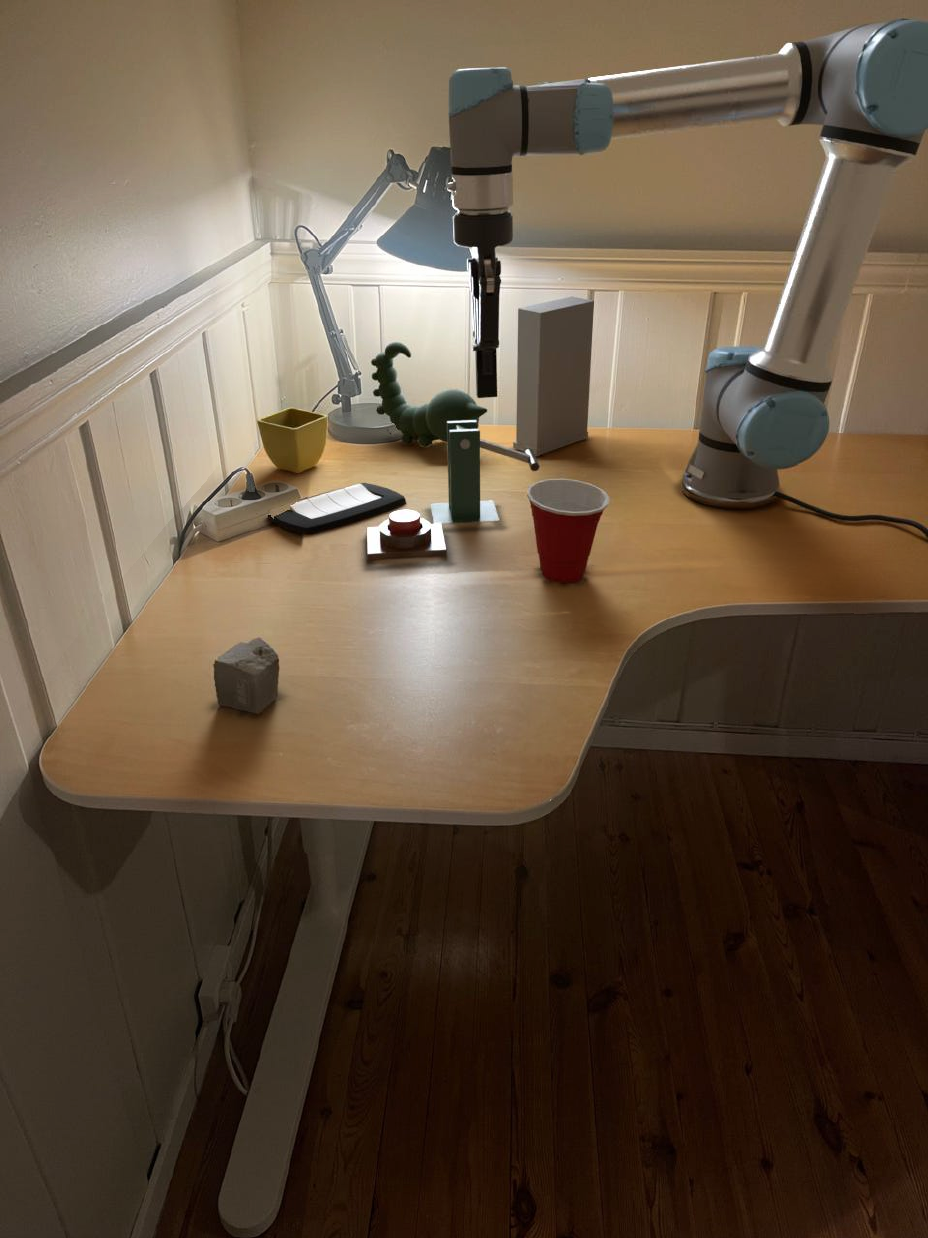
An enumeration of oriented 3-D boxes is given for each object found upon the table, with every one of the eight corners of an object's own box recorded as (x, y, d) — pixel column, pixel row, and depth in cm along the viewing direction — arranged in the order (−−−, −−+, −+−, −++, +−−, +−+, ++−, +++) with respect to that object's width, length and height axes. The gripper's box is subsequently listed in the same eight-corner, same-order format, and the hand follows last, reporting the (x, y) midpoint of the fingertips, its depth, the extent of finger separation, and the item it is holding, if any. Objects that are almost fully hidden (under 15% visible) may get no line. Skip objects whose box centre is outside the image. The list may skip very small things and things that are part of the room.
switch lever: (529, 461, 144) (535, 447, 143) (536, 475, 139) (542, 461, 138) (449, 435, 141) (455, 420, 140) (453, 449, 136) (459, 433, 135)
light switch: (363, 474, 156) (413, 490, 146) (365, 490, 158) (414, 508, 148) (257, 504, 146) (303, 525, 136) (260, 522, 147) (306, 543, 137)
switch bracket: (493, 507, 149) (493, 415, 141) (500, 527, 142) (500, 433, 134) (430, 510, 148) (427, 418, 140) (433, 531, 141) (430, 436, 133)
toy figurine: (369, 447, 178) (474, 464, 163) (356, 345, 169) (465, 353, 155) (402, 434, 184) (506, 449, 170) (391, 335, 176) (498, 341, 161)
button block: (441, 536, 139) (441, 511, 137) (447, 563, 131) (446, 537, 129) (367, 540, 138) (365, 515, 136) (368, 568, 131) (366, 542, 129)
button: (419, 521, 135) (419, 508, 134) (421, 534, 131) (421, 521, 130) (389, 523, 135) (388, 510, 134) (390, 536, 131) (389, 522, 130)
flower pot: (333, 464, 166) (328, 414, 161) (300, 480, 160) (294, 428, 155) (295, 455, 170) (290, 406, 166) (261, 470, 164) (255, 420, 159)
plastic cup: (594, 598, 122) (599, 513, 116) (514, 585, 125) (516, 502, 119) (612, 563, 131) (618, 482, 125) (537, 552, 134) (540, 472, 128)
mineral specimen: (197, 718, 99) (194, 646, 97) (247, 691, 107) (244, 623, 104) (256, 732, 96) (254, 659, 94) (302, 703, 104) (301, 634, 102)
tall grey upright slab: (563, 431, 180) (568, 295, 167) (587, 439, 176) (595, 300, 163) (512, 449, 172) (513, 307, 159) (536, 457, 168) (540, 313, 155)
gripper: (447, 205, 123) (454, 384, 135) (458, 218, 112) (465, 412, 124) (504, 202, 124) (506, 381, 135) (520, 215, 112) (521, 408, 124)
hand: (486, 395), depth 129 cm, fingers closed
